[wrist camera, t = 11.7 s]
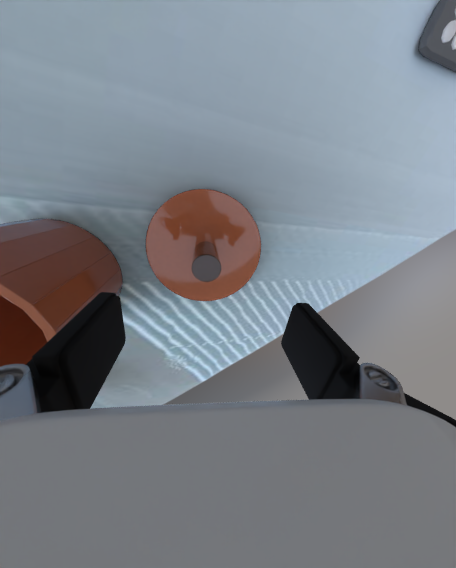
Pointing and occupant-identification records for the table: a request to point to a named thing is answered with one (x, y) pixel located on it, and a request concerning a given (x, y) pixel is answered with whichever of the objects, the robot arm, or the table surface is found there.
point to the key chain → (441, 35)
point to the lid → (203, 245)
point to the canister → (47, 282)
